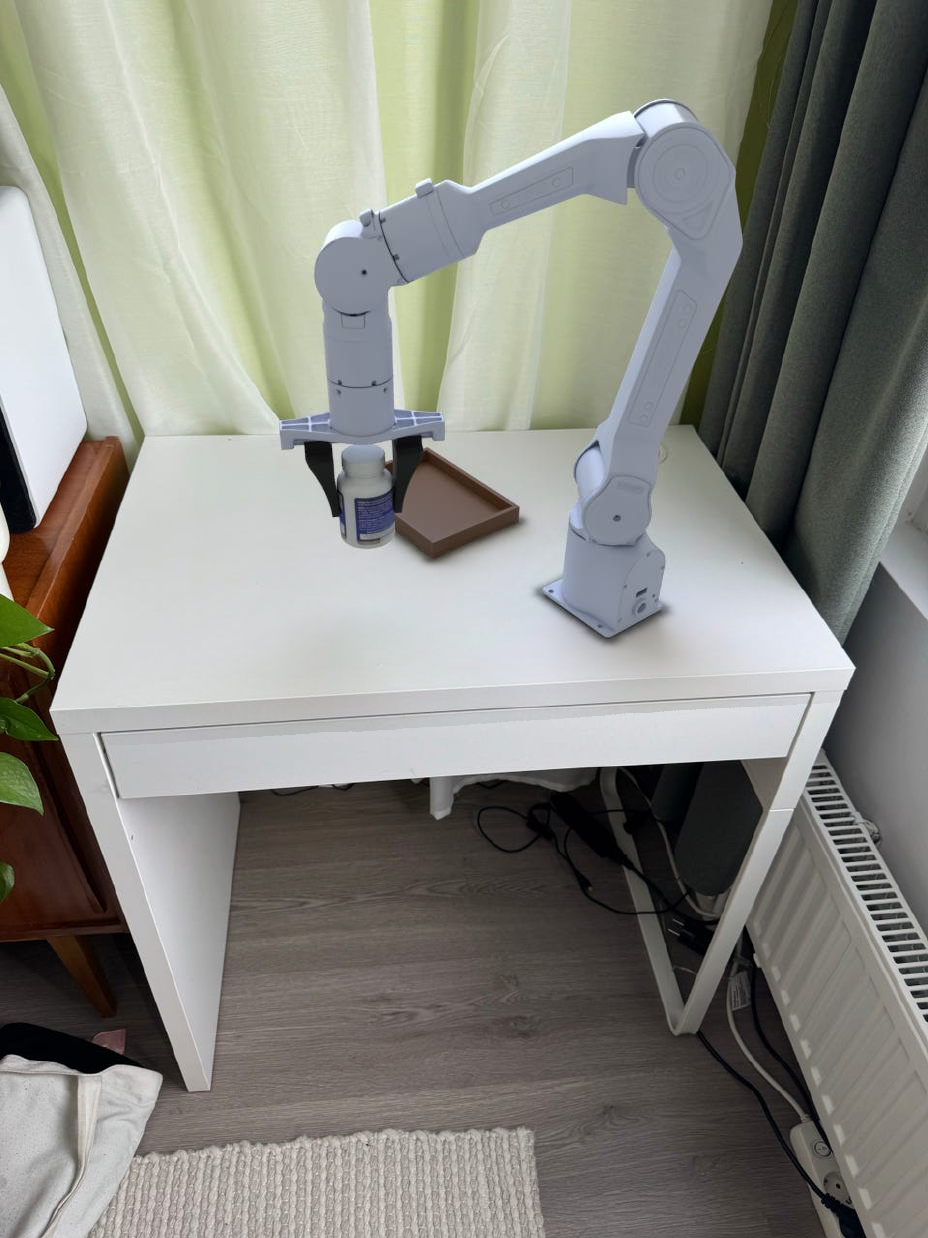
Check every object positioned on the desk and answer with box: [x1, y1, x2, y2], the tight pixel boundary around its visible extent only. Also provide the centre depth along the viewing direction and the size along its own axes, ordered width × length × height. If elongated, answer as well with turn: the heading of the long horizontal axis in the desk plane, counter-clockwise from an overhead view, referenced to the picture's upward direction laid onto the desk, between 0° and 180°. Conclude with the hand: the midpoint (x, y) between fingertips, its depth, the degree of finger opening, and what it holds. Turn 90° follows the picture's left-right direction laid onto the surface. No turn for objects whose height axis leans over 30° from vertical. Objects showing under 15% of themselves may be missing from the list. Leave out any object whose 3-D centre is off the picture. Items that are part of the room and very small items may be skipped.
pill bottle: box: [336, 444, 396, 550], centre depth 87 cm, size 5×5×9 cm
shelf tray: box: [385, 446, 521, 559], centre depth 106 cm, size 17×12×2 cm
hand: (367, 509), depth 88 cm, fingers closed on pill bottle, 5 cm apart
